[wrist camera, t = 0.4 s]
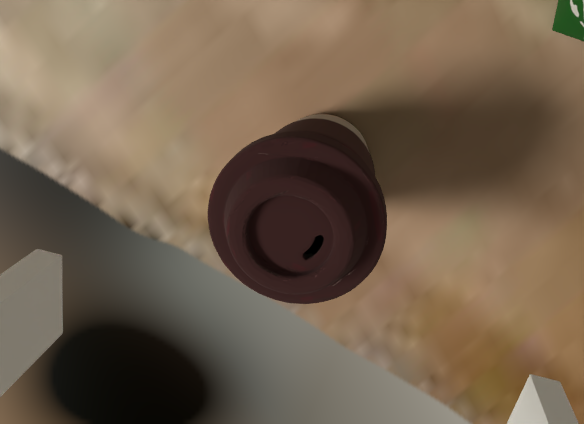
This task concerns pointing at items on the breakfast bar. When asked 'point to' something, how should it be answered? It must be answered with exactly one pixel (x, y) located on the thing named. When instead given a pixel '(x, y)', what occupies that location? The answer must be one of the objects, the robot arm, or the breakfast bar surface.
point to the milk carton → (570, 18)
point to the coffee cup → (300, 212)
